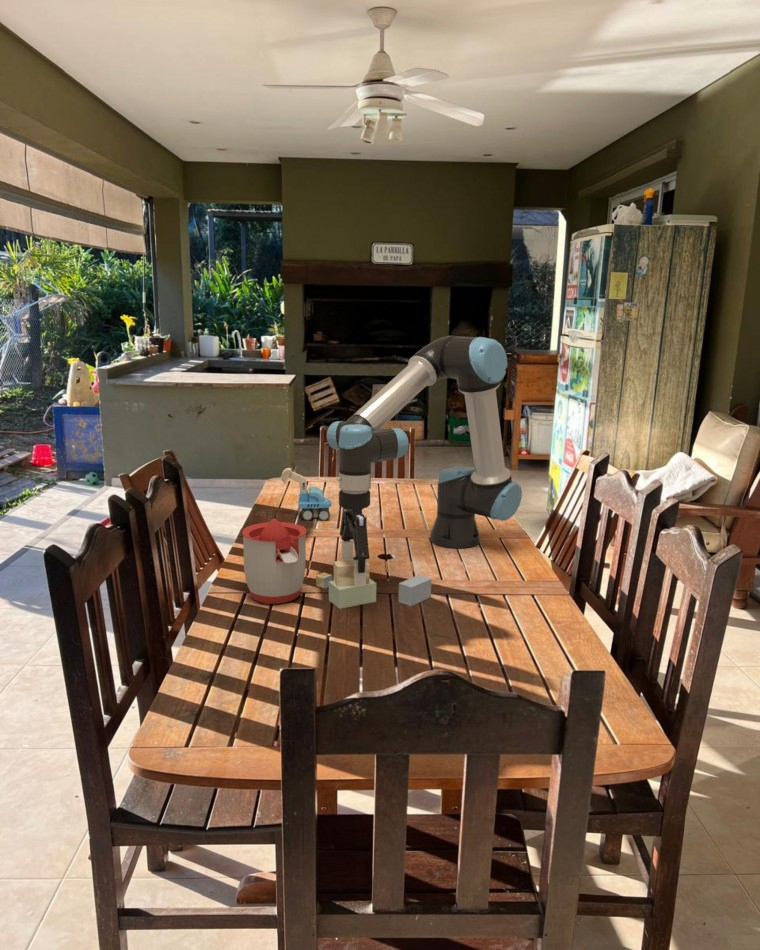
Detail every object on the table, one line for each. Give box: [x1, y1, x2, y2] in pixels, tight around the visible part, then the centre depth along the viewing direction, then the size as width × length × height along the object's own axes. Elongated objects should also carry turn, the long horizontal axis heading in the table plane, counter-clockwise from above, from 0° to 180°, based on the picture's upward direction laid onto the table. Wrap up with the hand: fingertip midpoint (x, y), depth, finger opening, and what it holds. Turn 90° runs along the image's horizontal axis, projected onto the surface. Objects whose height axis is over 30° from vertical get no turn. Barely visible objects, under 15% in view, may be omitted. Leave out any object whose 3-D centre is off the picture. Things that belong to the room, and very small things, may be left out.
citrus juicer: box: [241, 518, 308, 605], centre depth 185 cm, size 16×17×20 cm
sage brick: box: [328, 577, 377, 610], centre depth 185 cm, size 10×6×5 cm, turn 119°
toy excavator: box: [281, 467, 332, 522], centre depth 254 cm, size 9×17×17 cm, turn 95°
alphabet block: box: [315, 572, 333, 589], centre depth 195 cm, size 3×3×3 cm
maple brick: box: [333, 560, 371, 587], centre depth 184 cm, size 8×4×5 cm, turn 106°
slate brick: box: [397, 574, 432, 607], centre depth 187 cm, size 8×4×5 cm, turn 140°
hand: (353, 575), depth 185 cm, fingers open, 12 cm apart
